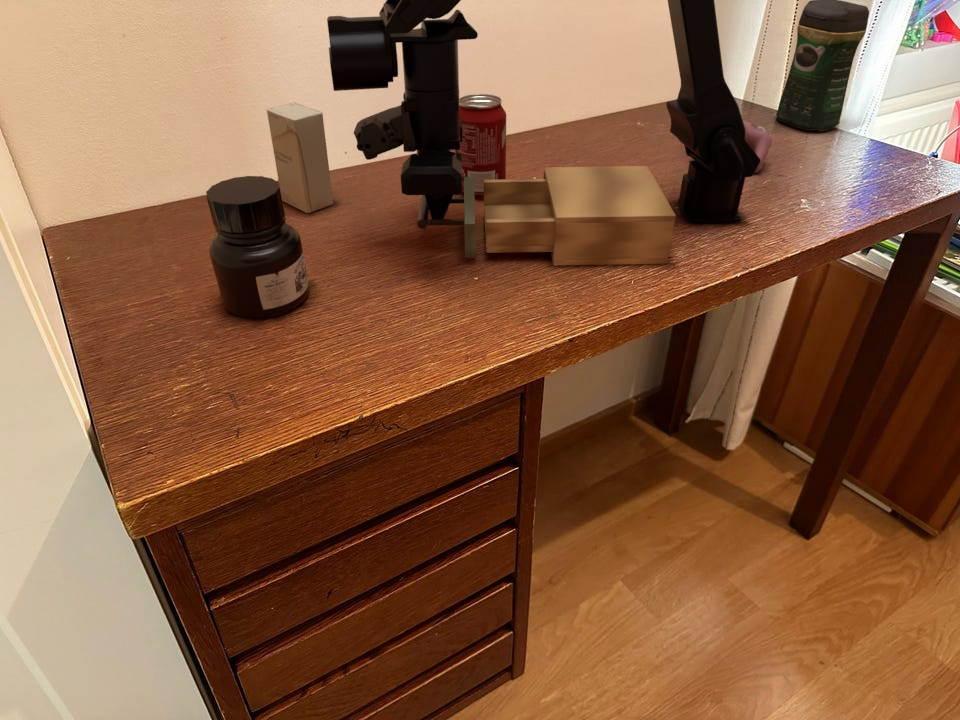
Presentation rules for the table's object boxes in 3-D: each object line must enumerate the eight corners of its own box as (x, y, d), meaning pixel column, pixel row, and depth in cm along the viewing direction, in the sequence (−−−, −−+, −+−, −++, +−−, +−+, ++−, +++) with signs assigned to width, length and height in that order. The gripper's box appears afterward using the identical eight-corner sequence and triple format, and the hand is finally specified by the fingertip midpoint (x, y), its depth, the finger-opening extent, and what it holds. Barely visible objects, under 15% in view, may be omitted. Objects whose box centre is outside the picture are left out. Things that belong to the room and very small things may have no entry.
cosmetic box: (281, 201, 92) (263, 109, 85) (308, 191, 95) (293, 100, 88) (309, 214, 89) (292, 119, 82) (336, 204, 92) (323, 110, 84)
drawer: (416, 258, 78) (414, 224, 75) (422, 209, 88) (420, 177, 86) (570, 256, 78) (573, 221, 75) (558, 206, 88) (560, 175, 86)
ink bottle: (288, 326, 68) (265, 214, 61) (206, 318, 70) (173, 207, 62) (323, 277, 76) (306, 172, 69) (248, 271, 77) (223, 167, 70)
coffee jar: (846, 128, 114) (884, 3, 102) (809, 135, 111) (845, 8, 100) (802, 112, 121) (833, -7, 110) (766, 118, 118) (795, -3, 107)
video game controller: (762, 177, 101) (778, 128, 100) (758, 173, 97) (775, 122, 96) (696, 164, 106) (711, 117, 104) (690, 159, 102) (705, 111, 100)
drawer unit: (553, 265, 78) (556, 217, 74) (541, 211, 89) (543, 167, 86) (667, 263, 78) (676, 215, 74) (641, 209, 89) (647, 165, 86)
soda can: (500, 201, 92) (501, 109, 85) (451, 197, 93) (447, 106, 86) (509, 181, 97) (510, 93, 90) (462, 178, 98) (460, 91, 91)
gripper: (365, 63, 80) (377, 190, 89) (342, 113, 65) (360, 260, 74) (461, 62, 80) (463, 190, 89) (460, 112, 65) (463, 259, 74)
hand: (437, 221), depth 82 cm, fingers closed, pressing on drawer
